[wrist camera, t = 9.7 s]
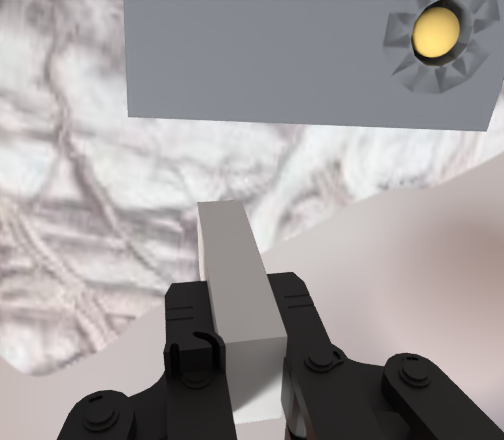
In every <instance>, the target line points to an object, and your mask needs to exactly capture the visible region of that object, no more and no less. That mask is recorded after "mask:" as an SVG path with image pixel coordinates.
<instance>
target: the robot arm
mask: <svg viewBox="0 0 504 440" xmlns="http://www.w3.org/2000/svg"><path fill="white" fill-rule="evenodd" d="M197 217H198V243H199V269H200V277H201V281H195V282H184V283H172V284H171V286H170V288H169V289H168V291H167V293H166V295H165V320H166V344H165V348H164V352H163V354H164V365H165V371H164V373H163V375H162V377H161V378H160V379H159V381H158V382H157V383H155V384H154V385H153V386H152V387H150V388H148V389H146V390H144V391H142V392H140V393H138V394H135V395H133V396H130V397H127V396H126V395H125V394H123V393H122V392H117V391H113V390H104V391H97V392H95V393H92V394H90V395H87V396H85V397H84V398H83V399H82V400H80V401H79V402H78V403H76V404H75V406H74V407H73V409H72V410H71V411H70V413H69V414H68V416H67V419H66V421H65V423H64V425H63V427H62V429H61V431H60V434H59V436H58V438H57V440H237V435H236V429H235V424H239V423H246V422H254V421H261V420H268V419H276V418H281V408H282V407H283V410H284V414H285V418H286V429H285V440H504V432H503V431H502V430H501V429H500V428H499V427H498V426H497V425H496V424H495V423H494V422H493V421H492V420H491V419H490V418H489V417H488V416H487V415H486V414H485V413H484V412H483V411H482V410H481V409H480V408H479V407H478V406H477V405H476V404H475V403H474V402H473V401H472V400H471V399H470V398H469V397H468V396H467V395H466V394H465V393H464V392H463V391H462V390H461V389H460V388H459V387H458V386H457V385H456V384H455V383H454V382H453V381H452V380H451V379H450V378H449V377H448V376H447V375H446V374H445V373H444V372H443V371H442V370H441V369H440V368H439V367H438V366H437V365H435V364H434V363H433V362H431V361H430V360H429V359H427V358H424V357H422V356H420V355H417V354H410V353H401V354H395V355H394V356H392V357H390V358H389V359H388V360H387V362H386V364H385V366H378V365H371V364H364V363H360V362H356V361H353V360H351V359H348V358H347V356H346V355H345V354H344V352H343V351H342V350H341V349H339V348H338V347H336V346H335V345H333V344H331V342H330V339H329V337H328V335H327V333H326V330H325V328H324V326H323V323H322V321H321V319H320V317H319V314H318V312H317V310H316V307H315V306H314V303H313V301H312V298H311V297H310V294H309V292H308V289H307V287H306V285H305V283H304V281H303V280H301V279H300V278H299V277H298V276H297V275H296V274H294V273H293V272H286V273H274V274H266V271H265V268H264V266H263V262H262V259H261V256H260V253H259V251H258V248H257V245H256V242H255V239H254V236H253V233H252V230H251V227H250V224H249V221H248V218H247V215H246V212H245V209H244V206H243V203H242V200H230V201H213V202H197Z"/></svg>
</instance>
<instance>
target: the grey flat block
mask: <svg viewBox="0 0 504 440" xmlns="http://www.w3.org/2000/svg"><path fill="white" fill-rule="evenodd" d="M436 1H438V0H124V25H125V52H126V78H127V104H128V117H139V118H164V119H189V120H213V121H238V122H263V123H288V124H312V125H337V126H362V127H387V128H411V129H436V130H461V131H486V132H487V129H488V126H489V123H490V120H491V116H492V113H493V110H494V107H495V104H496V101H497V98H498V95H499V92H500V89H501V86H502V83H503V80H504V0H444V1H445V2H446V3H447V4H449V5H450V6H451V7H452V12H453V13H454V14H455V16H456V17H457V19H458V22H459V26H460V32H459V37H458V39H457V41H456V43H455V45H454V46H453V47H452V48H451V49H450V50H449V51H448V52H447V53H445V54H443V55H441V56H437V57H431V58H429V59H427V60H419V59H417V58H416V57H415V55H414V52H413V48H412V44H411V36H412V32H413V27H414V23H415V21H416V20H417V18H418V17H419V16H420V14H421V13H422V12H423V10H424V9H425V8H426V7H427V6H429V5H431V4H433V3H434V2H436Z"/></svg>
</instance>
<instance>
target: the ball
mask: <svg viewBox="0 0 504 440" xmlns="http://www.w3.org/2000/svg"><path fill="white" fill-rule="evenodd" d="M459 32H460V26H459V22H458V19H457V17H456V16H455V14H454V13H453V12H451V11H450V10H448V9H446V8H442V7H434V8H430V9H427V10H425V11H423V12H422V13H421V14H420V16H419V17H418V18H417V20H416V21H415V23H414V27H413V32H412V36H411V44H412V47H413V48H414V50H415V51H416V52H417V53H419V54H420V55H422V56H425V57H437V56H441V55H443V54H445V53H447V52H448V51H449V50H450V49H451V48H452V47H453V46H454V45H455V43H456V41H457V39H458V37H459Z"/></svg>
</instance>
